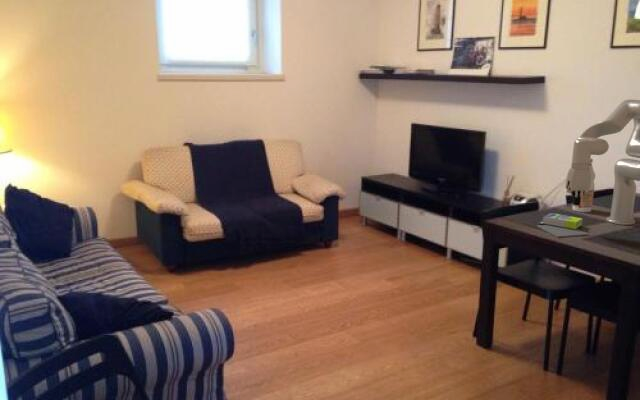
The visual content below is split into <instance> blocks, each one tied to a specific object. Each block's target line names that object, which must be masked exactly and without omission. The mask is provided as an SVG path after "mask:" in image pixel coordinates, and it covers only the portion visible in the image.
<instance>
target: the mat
mask: <svg viewBox="0 0 640 400" xmlns="http://www.w3.org/2000/svg"><path fill="white" fill-rule="evenodd" d="M536 226H537V227H536V228H538V227H539V228H538V229H540V228H541V229H540V230H542V231H544V232H546V233H548V234H550V235H551V236H554V237H555V238H569V237H570V238H571V237H581V236H582V237H583V236H589V235H590V234H589V233H588V232H586V231H584V230H581V229H580V228H577V229H570V228H564V227H559V226H553V225H548V224H541V225H540V224H539V225H536Z"/></svg>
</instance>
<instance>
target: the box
mask: <svg viewBox="0 0 640 400" xmlns="http://www.w3.org/2000/svg"><path fill="white" fill-rule="evenodd" d="M538 224H541V225H553V226H559V227H564V228H570V229H579V227H581V226H582V224H583V218H582V217H577V216H570V215H565V214H560V213H553V212H549V213H548V214H546V215H544V216H542V220H541V221H540V222H538Z"/></svg>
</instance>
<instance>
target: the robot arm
mask: <svg viewBox="0 0 640 400" xmlns="http://www.w3.org/2000/svg"><path fill="white" fill-rule="evenodd" d="M631 121H633V129H632V132H631V134H630V136H629V139H628V141H627V144H626V147H625V154H626V155H627V156H629V157H632V158H620V159H618V160H617V161H616V162H615V164H614V167H613V168H614V169H613V173H614V186H613V187H614V188H613V192H612V193H613V194H612V201H611V209H610V216H607V217H606V221H607V222H609V223H611V224H615V225H622V226H631V225H634V224H636V220H635V218H636V219H639V218H640V213H634V207H635V199H636V193H637V185H636V182H635V181H637V182H640V160H638V159H640V99H625V100H623V101H622V102H621V103H619V104H618V106H617V107H616V108H615V109H614V110H613V111H612V112H611V113H610V114H609V116H608V117H607V118H606V119H604V120H601V121H599V122H597V123H595V124H594V125H591V126H589V127H587V129H585V130H584V131H583V132H582V133H581V134H580V136H579V137H578V138H577V139H575V140H574V142H573V147H572V149H573V150H572V157H571V158H572V159H571V166H570V168H568V171H567V175H566V180H565V189H566V193H567V194H570V195H571V196H572V203H571V204H572V206H573V205H576V206H577V205H580V200H581V197H582V195H583V194H584V193H586V192H588V191H589V190H588V189H589V188H590V181H591V174H590V169H589V166H591V163H590V158H591V156H594V155H595V156H603V155H604V154H606V153H607V152H608V151H609V147H610V145H609V142H608V141H607V140H606V139H603V138H601V137H603V136H608V135H609V136H610V135H613V134H617V133H620V132H622V131H623V130H624V128H625V127H626V126H627V125H628V124H629V123H630V122H631ZM633 158H637V159H633ZM591 159H592V158H591Z"/></svg>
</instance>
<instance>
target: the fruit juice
mask: <svg viewBox="0 0 640 400" xmlns="http://www.w3.org/2000/svg"><path fill="white" fill-rule="evenodd" d="M593 161H594V160H593V158H590V163H591V166H589V169H590V174H591V181H590V188H589V189H588V190H589V191H588V192H586V193H584V194H583V195H582V197H581V200H580V205H577V206H576V205H573V204H572V208H571V209H572V210H573V211H575V212H579V213H591V212H592V208H593V200H594V192H595V179H596V172H595V170H594V168H593Z"/></svg>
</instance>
